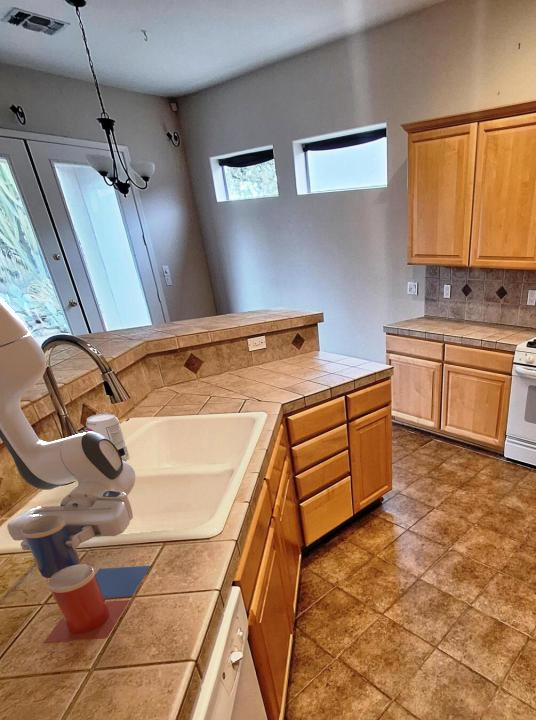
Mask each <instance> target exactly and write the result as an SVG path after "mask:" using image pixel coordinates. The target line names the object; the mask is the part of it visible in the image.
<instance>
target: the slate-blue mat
mask: <svg viewBox="0 0 536 720" xmlns="http://www.w3.org/2000/svg"><path fill="white" fill-rule="evenodd" d="M151 567H152V565H140V566H139V565H138V566H122V567H107V568H105V567H104V568H103V567H102V568H99V569H98V570H97V571H96V573H95V575H96V578H97V581H98V583H99V586H100V589H101V591H102V594H103V596H104V599H112V598H113V599H114V598H128V597H133V596H134V595H135V594H136V591H137V590H138V588H139V587H140V584H142V582H143V580H144V578H145V577H146V575H147V573H148V572H149V570H150V568H151Z"/></svg>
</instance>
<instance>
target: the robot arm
mask: <svg viewBox="0 0 536 720" xmlns="http://www.w3.org/2000/svg"><path fill="white" fill-rule="evenodd" d="M46 370H47V358H46V355H45V353H44V350H43V349H42V347H41V346H40V343H39V342H38V341H37V340H36V338H35V337H34V336H33V334H32V332H30V330H29V328H27V326H26V325H25V323H24V322H23V321H22V320H21V319H20V318H19V316H18V314H16V313H15V311H14V310H13V309H12V308H11V307H10V306H9V304H8V303H7V302H5V300H4V299H3V298H2V297H0V441H2V443H3V445H4V447H5V448H6V449H7V451H8V452H9V454H10V455H11V457H12V459H13V461H14V463H15V464H14V465H15V466H16V470H17V472H18V474H19V476H20V477H21V479H22V480H24V482H26V483H27V484H29V485H30V486H32V487H34V488H36V489H40V490H45V491H46V490H47V491H50V490H53V489H57V488H59V487H63V486H65V485H67V484H70V483H74V482H77V486H75V487H74V488H73V489H72V490H71V491H70V492H69V493H68V494H66V495H65V496H64V497H63V498H62V500H61V501H60V504H59V505H52V506H51V505H50V506H49V505H48V506H37V507H33V508H30V509H27V510H26V511H24V512H23V513H21V514H19V515H18V516H17V517H15V518H13V519H12V520H10V521H9V522H8V523H7V526H6V527H7V531H8V533H9V535H10V537H11V538H12V540H13V541H21V542H20V547H21V549H22V550H23V551H30V548H29V546H28V544H27V542H26V540H25V537H24V536H23V534H22V531H21V530H22V528H23V527H24V526H25V525H26V524H28V523H29V522H31V521H33V520H36V519H39V518H42V517H46V516H61V517H63V518H64V520H65V522H66V526H67V528H68V531H69V533H70V536H69V537H68V539H66V541H65V544H66V545H67V548H75V549H77V548H78V547H79V546H80V545H81V544H82V543H85V542H87V541H89V540H91V539H93V538H103V537H117V536H119V535H121V534H123V533H124V532H125V531H126V530H127V528H128V527H129V525H130V523H131V520H133V518H134V513H133V509H132V506H131V503H130V500H129V495H130V493H131V492H132V490H133V488H134V486H135V484H136V483H135V482H136V478H137V477H136V472H135V469H134V468H133V466H132V465H131V464H130V463H129V462H127V461H125V460H122V458H121V455H120V453H119V451H118V449H117V448H116V447H115V445H114V444H113V443H112V442H111V441H110V440H109V439H107V438H106V437H104V436H103V435H101V434H98V433H96V432H88V431H87V432H83V433H77V434H75V435H71V436H67V437H65V438H60V439H57V440H53V441H49V442H48V441H44V440H42V439H40V438H39V436H38V435H37V434H36V432H35V430H34V428H33V427H32V425H31V424H30V422H29V421H28V419H27V417H26V416H25V413H24V412H23V410H22V407H21V400H22V397H23V396H24V395H25V394H26V393H27V392H29V390H31V389H32V388H33V387H34V386H35V385H37V384H38V383H39V382H40V380H41V379H42V378H43V376H44V375H45V372H46Z"/></svg>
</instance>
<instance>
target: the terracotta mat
mask: <svg viewBox="0 0 536 720" xmlns="http://www.w3.org/2000/svg"><path fill="white" fill-rule="evenodd" d="M130 601H131V599H123V600H109V601H108V600H107V601H106V600H105V602H106V604H107V607H108V609H109V613H110V614H109V617H108V619H107V620H106V621H105V622H104V623H103V624H102V625H101V626H99V627H98V628H96V629H94V630H92V631H89V632H86V633H79V634H77V633H72V632H70V631H69V630H68V628H67V625H66V623H65V621H64V619H63V617H62V616H61V618H60V620H59V621H58V623H57V624H56V625H55V627H54V628H53V629H52V630H51V631H50V633H49V634H48V635H47V637H46V638H45V640H44V641H43V642H42V643H43V644H46V643H59V642H62V643H63V642H72V641H86V640H99V639H108V637H109V636H110V634H111V633H112V631H113V629H114V628H115V626H116V625H117V623H118V621H119V619H120V618H121V616H122V614H123V613H124V612H125V609H126V608H127V606H128V604H129V603H130Z"/></svg>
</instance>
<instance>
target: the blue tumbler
mask: <svg viewBox="0 0 536 720" xmlns="http://www.w3.org/2000/svg"><path fill="white" fill-rule="evenodd" d="M21 531H22V534H23V536H24V537H25V540H26V542H27V544H28V546H29V548H30V550H29V551H30V553H31V555H32V558H33V559H34V562H35V564H36V567H37V569H38V571H39V573H40V575H41V577H43V578H45V579H50V578H51V577H52V576H53V575H54V574H55V573H57V572H58V571H60V570H62V569H64V568H67V567H70V566H73V565H78V564H81V559H80V557H79V553H78V551H77V548H67V545H66V544H65V541H66V539H68V537H69V536H70V533H69V531H68V528H67V526H66V522H65V520H64V518H63V517H61V516H46V517H42V518H39V519H36V520H33V521H31V522H29V523H28V524H26V525H25V526H24V527H23V528H22V530H21Z"/></svg>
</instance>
